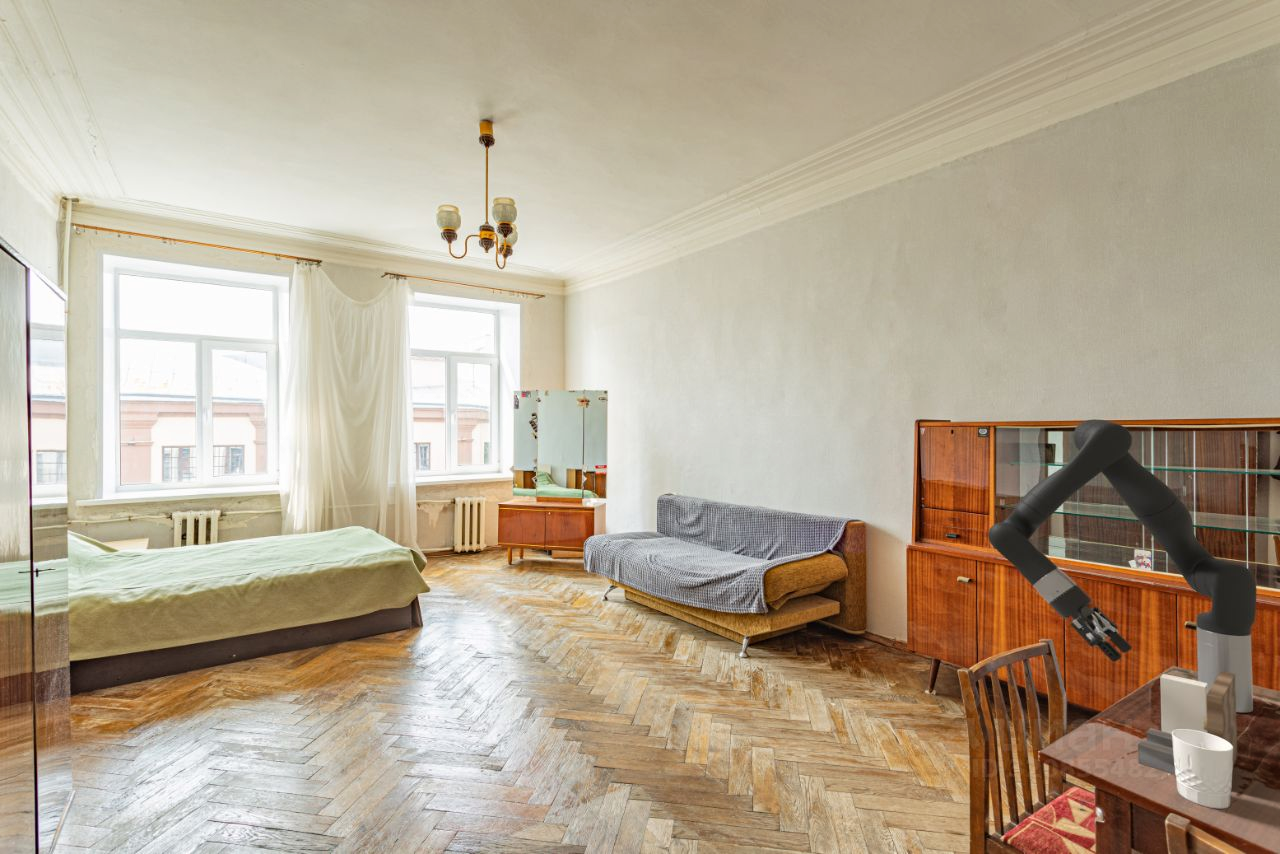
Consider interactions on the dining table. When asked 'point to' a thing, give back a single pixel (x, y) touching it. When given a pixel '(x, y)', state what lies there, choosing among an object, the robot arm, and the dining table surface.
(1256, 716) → the dining table surface
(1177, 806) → the dining table surface
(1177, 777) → the white cup
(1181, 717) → the plain white rectangular block
